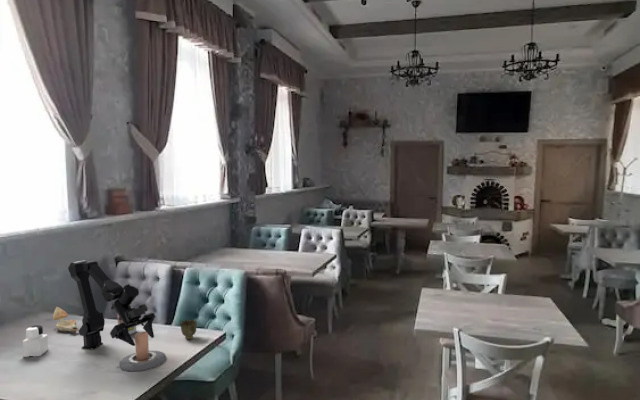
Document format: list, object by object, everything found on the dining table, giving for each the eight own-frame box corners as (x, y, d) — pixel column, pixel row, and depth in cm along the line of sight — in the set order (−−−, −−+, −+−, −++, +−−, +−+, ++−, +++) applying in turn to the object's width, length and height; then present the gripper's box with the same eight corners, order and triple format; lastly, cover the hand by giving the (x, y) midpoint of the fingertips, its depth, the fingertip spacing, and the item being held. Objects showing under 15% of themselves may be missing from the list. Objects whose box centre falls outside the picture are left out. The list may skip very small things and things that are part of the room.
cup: (192, 342, 203) (191, 325, 203) (178, 341, 205) (177, 324, 204) (200, 335, 211) (199, 319, 210) (186, 335, 212) (185, 318, 211)
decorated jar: (137, 328, 222) (136, 304, 221) (140, 333, 215) (139, 309, 214) (117, 332, 217) (116, 308, 217) (119, 337, 210) (118, 313, 209)
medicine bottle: (32, 350, 198) (30, 324, 197) (48, 349, 198) (47, 323, 197) (22, 357, 191) (20, 330, 190) (40, 356, 191) (38, 329, 190)
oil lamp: (67, 323, 232) (65, 304, 231) (85, 332, 219) (84, 312, 218) (48, 328, 225) (47, 308, 225) (66, 337, 212) (65, 317, 211)
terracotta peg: (135, 363, 181) (134, 336, 180) (136, 358, 185) (135, 332, 184) (149, 361, 182) (147, 335, 182) (149, 356, 187) (147, 330, 186)
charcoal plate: (109, 370, 177) (109, 368, 177) (135, 351, 194) (135, 349, 194) (151, 372, 174) (150, 370, 173) (173, 353, 191) (173, 351, 191)
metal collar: (123, 364, 180) (123, 361, 179) (138, 353, 190) (138, 350, 190) (147, 366, 178) (147, 363, 178) (161, 354, 188) (161, 352, 188)
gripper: (113, 306, 176) (132, 338, 171) (151, 293, 192) (170, 322, 187) (101, 322, 180) (120, 354, 176) (140, 309, 196) (159, 337, 192)
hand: (143, 341), depth 183 cm, fingers open, 9 cm apart
